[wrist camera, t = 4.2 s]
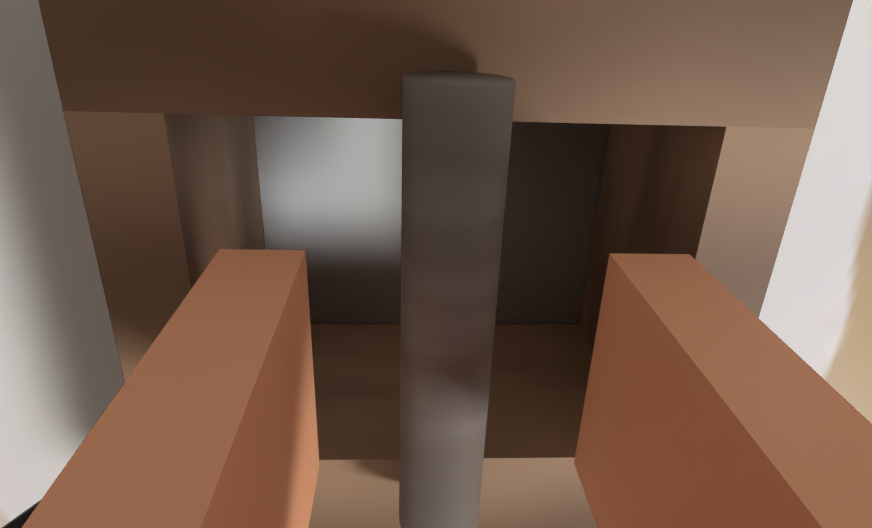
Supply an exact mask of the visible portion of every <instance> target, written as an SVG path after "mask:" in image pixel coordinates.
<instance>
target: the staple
mask: <svg viewBox="0 0 872 528" xmlns="http://www.w3.org/2000/svg"><path fill="white" fill-rule="evenodd" d="M574 464H575V467H576V470H577V473H578V476H579V478H580V481H581V484H582V487H583V490H584V492H585V495H586V498H587V501H588V504H589V506H590V509H591V512H592V515H593V518H594V520H595V523H596V526H597V528H872V424H871V423H870V422H869V421H868V420H867V419H866V418H865V417H864V416H863V415H861V414H860V413H859V412H858V411H857V410H856V409H855V408H854V407H853V406H852V405H851V404H850V403H849V402H848V401H846V400H845V399H844V398H843V397H842V396H841V395H840V394H839V393H838V392H836V390H835V389H834V388H832V387H831V386H830V385H829V384H828V383H827V382H826V381H825V380H824V379H823V378H822V377H821V376H820V375H819V374H817V373H816V372H815V371H814V370H813V369H812V368H811V367H810V366H809V365H808V364H807V363H806V362H805V361H803V360H802V359H801V358H800V357H799V356H798V355H797V354H796V353H795V352H794V351H793V350H792V349H791V348H790V347H788V346H787V345H786V344H785V343H784V342H783V341H782V340H781V339H780V338H779V337H778V336H777V335H776V334H775V333H773V332H772V331H771V330H770V329H769V328H768V327H767V326H766V325H765V324H764V323H763V322H762V321H761V320H759V319H758V318H757V317H756V316H755V315H754V314H753V313H752V312H751V311H750V310H749V309H748V308H747V307H746V306H744V305H743V304H742V303H741V302H740V301H739V300H738V299H737V298H736V297H735V296H734V295H733V294H732V293H730V292H729V291H728V290H727V289H726V288H725V287H724V286H723V285H722V284H721V283H720V282H719V281H718V280H717V279H715V278H714V277H713V276H712V275H711V274H710V273H709V272H708V271H707V270H706V269H705V268H704V267H703V266H702V265H700V264H699V263H698V262H697V261H696V260H695V259H694V258H693V257H692V256H691V255H690V254H619V253H610V254H609V260H608V266H607V272H606V278H605V283H604V289H603V295H602V301H601V307H600V313H599V319H598V325H597V331H596V336H595V342H594V348H593V354H592V360H591V366H590V372H589V378H588V384H587V389H586V395H585V401H584V407H583V413H582V419H581V425H580V431H579V437H578V442H577V448H576V454H575V460H574ZM319 466H320V465H319V449H318V434H317V418H316V403H315V387H314V372H313V356H312V341H311V325H310V310H309V294H308V279H307V263H306V250H250V249H219V251H218V252H217V254H216V255H215V256H214V258H213V259H212V261H211V262H210V263H209V265H208V266H207V268H206V269H205V270H204V272H203V273H202V275H201V276H200V277H199V279H198V280H197V282H196V283H195V284H194V286H193V287H192V289H191V290H190V291H189V293H188V294H187V296H186V297H185V299H184V300H183V301H182V303H181V304H180V306H179V307H178V308H177V310H176V311H175V313H174V314H173V315H172V317H171V318H170V320H169V321H168V322H167V324H166V325H165V327H164V328H163V329H162V331H161V332H160V334H159V335H158V337H157V338H156V339H155V341H154V342H153V344H152V345H151V346H150V348H149V349H148V351H147V352H146V353H145V355H144V356H143V358H142V359H141V360H140V362H139V363H138V365H137V366H136V367H135V369H134V370H133V372H132V373H131V375H130V376H129V377H128V379H127V380H126V382H125V383H124V384H123V386H122V387H121V389H120V390H119V391H118V393H117V394H116V396H115V397H114V398H113V400H112V401H111V403H110V404H109V405H108V407H107V408H106V410H105V411H104V413H103V414H102V415H101V417H100V418H99V420H98V421H97V422H96V424H95V425H94V427H93V428H92V429H91V431H90V432H89V434H88V435H87V436H86V438H85V439H84V441H83V442H82V443H81V445H80V446H79V448H78V449H77V450H76V452H75V453H74V455H73V456H72V458H71V459H70V460H69V462H68V463H67V465H66V466H65V467H64V469H63V470H62V472H61V473H60V474H59V476H58V477H57V479H56V480H55V481H54V483H53V484H52V486H51V487H50V488H49V490H48V491H47V493H46V494H45V496H44V497H43V498H42V500H41V501H40V503H39V504H38V505H37V507H36V508H35V510H34V511H33V512H32V514H31V515H30V517H29V518H28V519H27V521H26V522H25V524H24V525H23V526H22V528H309V522H310V516H311V511H312V505H313V499H314V494H315V488H316V483H317V477H318V471H319Z"/></svg>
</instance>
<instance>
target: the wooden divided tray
mask: <svg viewBox="0 0 872 528" xmlns="http://www.w3.org/2000/svg"><path fill="white" fill-rule="evenodd" d="M852 2H853V0H39V5H40V9H41V14H42V18H43V23H44V27H45V31H46V36H47V40H48V45H49V49H50V54H51V58H52V62H53V67H54V71H55V76H56V80H57V85H58V89H59V93H60V98H61V102H62V107H63V111H64V116H65V120H66V124H67V129H68V133H69V138H70V142H71V147H72V151H73V155H74V160H75V164H76V169H77V173H78V178H79V182H80V186H81V191H82V195H83V200H84V204H85V209H86V213H87V217H88V222H89V226H90V231H91V235H92V239H93V244H94V248H95V253H96V257H97V262H98V266H99V270H100V275H101V279H102V284H103V288H104V293H105V297H106V301H107V306H108V310H109V315H110V319H111V324H112V328H113V332H114V337H115V341H116V346H117V350H118V355H119V359H120V363H121V368H122V372H123V377H124V381H125V382H126V380H127V379H128V377H129V376H130V375H131V373H132V372H133V370H134V369H135V367H136V366H137V365H138V363H139V362H140V360H141V359H142V358H143V356H144V355H145V353H146V352H147V351H148V349H149V348H150V346H151V345H152V344H153V342H154V341H155V339H156V338H157V337H158V335H159V334H160V332H161V331H162V329H163V328H164V327H165V325H166V324H167V322H168V321H169V320H170V318H171V317H172V315H173V314H174V313H175V311H176V310H177V308H178V307H179V306H180V304H181V303H182V301H183V300H184V299H185V297H186V296H187V294H188V293H189V291H190V290H191V289H192V287H193V286H194V284H195V283H196V282H197V280H198V279H199V277H200V276H201V275H202V273H203V272H204V270H205V269H206V268H207V266H208V265H209V263H210V262H211V261H212V259H213V258H214V256H215V255H216V254H217V252H218V251H219V249H250V250H265V241H264V231H263V220H262V210H261V199H260V189H259V178H258V168H257V157H256V147H255V136H254V126H253V116H294V117H337V118H380V119H402V232H401V324H310V325H311V341H312V356H313V372H314V387H315V403H316V418H317V434H318V449H319V465H320V466H319V471H318V477H317V483H316V488H315V494H314V499H313V505H312V511H311V516H310V522H309V528H597V526H596V523H595V520H594V518H593V515H592V512H591V509H590V506H589V504H588V501H587V498H586V495H585V492H584V490H583V487H582V484H581V481H580V478H579V476H578V473H577V470H576V467H575V464H574V460H575V454H576V448H577V442H578V437H579V431H580V425H581V419H582V413H583V407H584V401H585V395H586V389H587V384H588V378H589V372H590V366H591V360H592V354H593V348H594V342H595V336H596V331H597V325H598V319H599V313H600V307H601V301H602V295H603V289H604V283H605V278H606V272H607V266H608V260H609V254H610V253H619V254H690V255H691V256H692V257H693V258H694V259H695V260H696V261H697V262H698V263H699V264H700V265H702V266H703V267H704V268H705V269H706V270H707V271H708V272H709V273H710V274H711V275H712V276H713V277H714V278H715V279H717V280H718V281H719V282H720V283H721V284H722V285H723V286H724V287H725V288H726V289H727V290H728V291H729V292H730V293H732V294H733V295H734V296H735V297H736V298H737V299H738V300H739V301H740V302H741V303H742V304H743V305H744V306H746V307H747V308H748V309H749V310H750V311H751V312H752V313H753V314H754V315H755V316H756V317H757V318H758V317H759V314H760V311H761V307H762V304H763V301H764V297H765V294H766V291H767V287H768V284H769V281H770V277H771V274H772V270H773V267H774V264H775V260H776V257H777V254H778V250H779V247H780V244H781V240H782V237H783V234H784V230H785V227H786V223H787V220H788V217H789V213H790V210H791V207H792V203H793V200H794V197H795V193H796V190H797V187H798V183H799V180H800V176H801V173H802V170H803V166H804V163H805V160H806V156H807V153H808V150H809V146H810V143H811V140H812V136H813V133H814V130H815V126H816V123H817V119H818V116H819V113H820V109H821V106H822V103H823V99H824V96H825V93H826V89H827V86H828V83H829V79H830V76H831V72H832V69H833V66H834V62H835V59H836V56H837V52H838V49H839V46H840V42H841V39H842V36H843V32H844V29H845V25H846V22H847V19H848V15H849V12H850V9H851V5H852ZM512 122H552V123H594V124H611V125H610V131H609V138H608V144H607V151H606V157H605V164H604V170H603V177H602V183H601V190H600V196H599V203H598V209H597V216H596V222H595V229H594V235H593V242H592V248H591V254H590V261H589V267H588V274H587V280H586V287H585V293H584V300H583V306H582V313H581V319H580V325H512V324H495V320H496V308H497V296H498V285H499V273H500V261H501V249H502V238H503V226H504V214H505V203H506V191H507V179H508V168H509V156H510V144H511V133H512Z"/></svg>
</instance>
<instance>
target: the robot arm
mask: <svg viewBox="0 0 872 528" xmlns="http://www.w3.org/2000/svg"><path fill="white" fill-rule="evenodd" d="M41 500H42V499H41ZM41 500H40V501H41ZM40 501H39V502H37V503H36V504H34V505H33V506H32V507H30V508H29V509H27V510H26V511H25V512H23V513H22V514H20V515H19V516H17V517H16V518H15V519H13V520H12V521H10V522H9V523H8V524H7V525H5V526H4V527H2V528H22V526H23V525H24V524H25V522H26V521H27V519H28V518H29V517H30V515H31V514H32V512H33V511H34V510H35V508H36V507H37V505H38V504H39V503H40Z"/></svg>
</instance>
